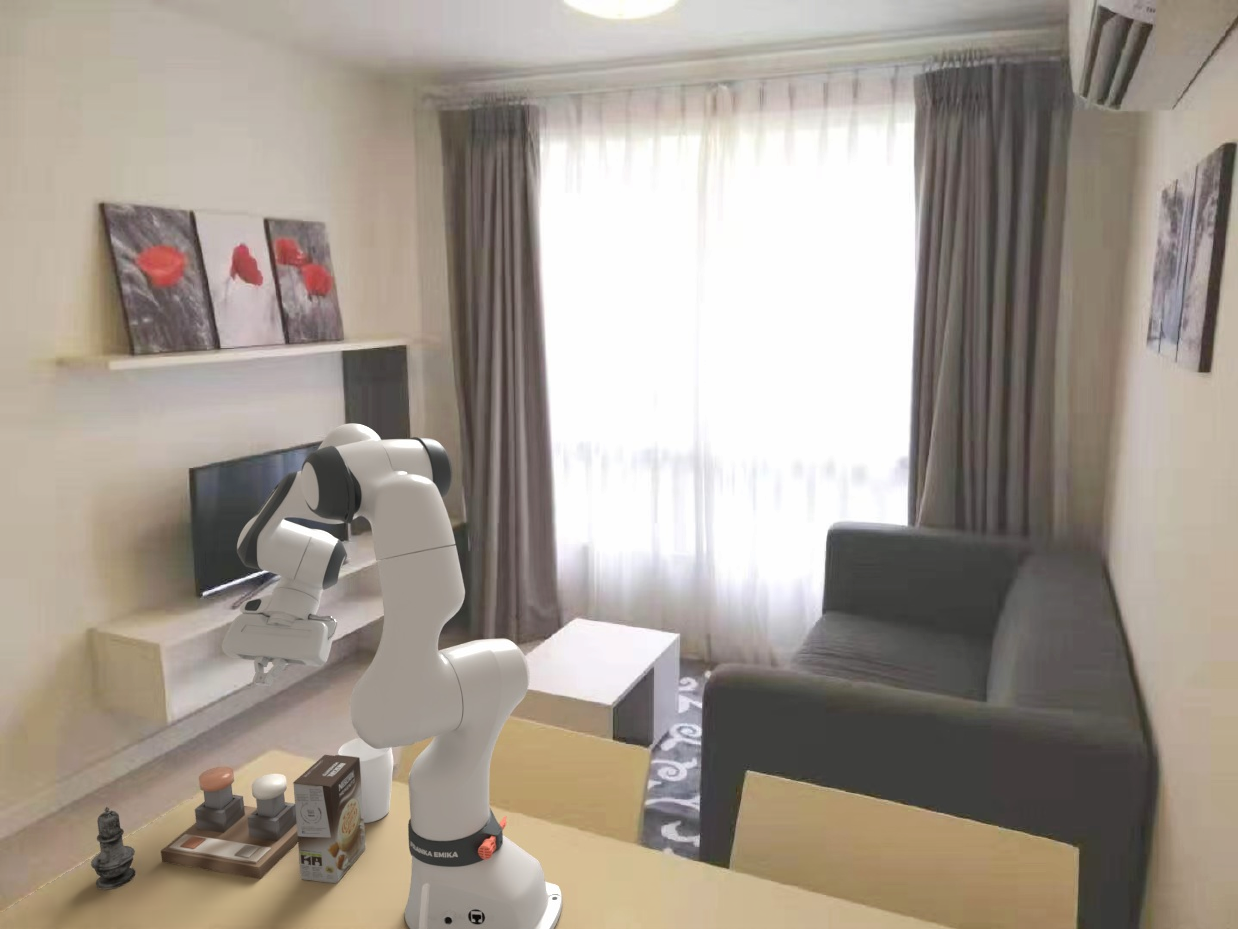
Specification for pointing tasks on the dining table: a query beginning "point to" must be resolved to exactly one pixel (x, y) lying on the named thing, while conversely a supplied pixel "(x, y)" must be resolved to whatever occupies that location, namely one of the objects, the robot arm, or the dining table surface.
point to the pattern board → (234, 840)
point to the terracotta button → (217, 787)
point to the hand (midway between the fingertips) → (261, 684)
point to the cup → (372, 777)
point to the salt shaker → (112, 853)
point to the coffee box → (329, 818)
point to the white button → (269, 794)
